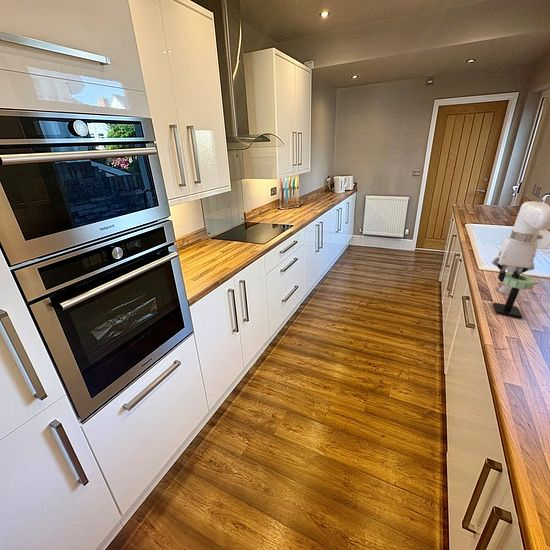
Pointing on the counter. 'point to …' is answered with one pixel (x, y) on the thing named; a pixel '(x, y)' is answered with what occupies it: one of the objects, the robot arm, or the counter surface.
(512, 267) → the chalice
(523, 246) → the robot arm
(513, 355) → the counter surface
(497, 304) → the post
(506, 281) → the ring
